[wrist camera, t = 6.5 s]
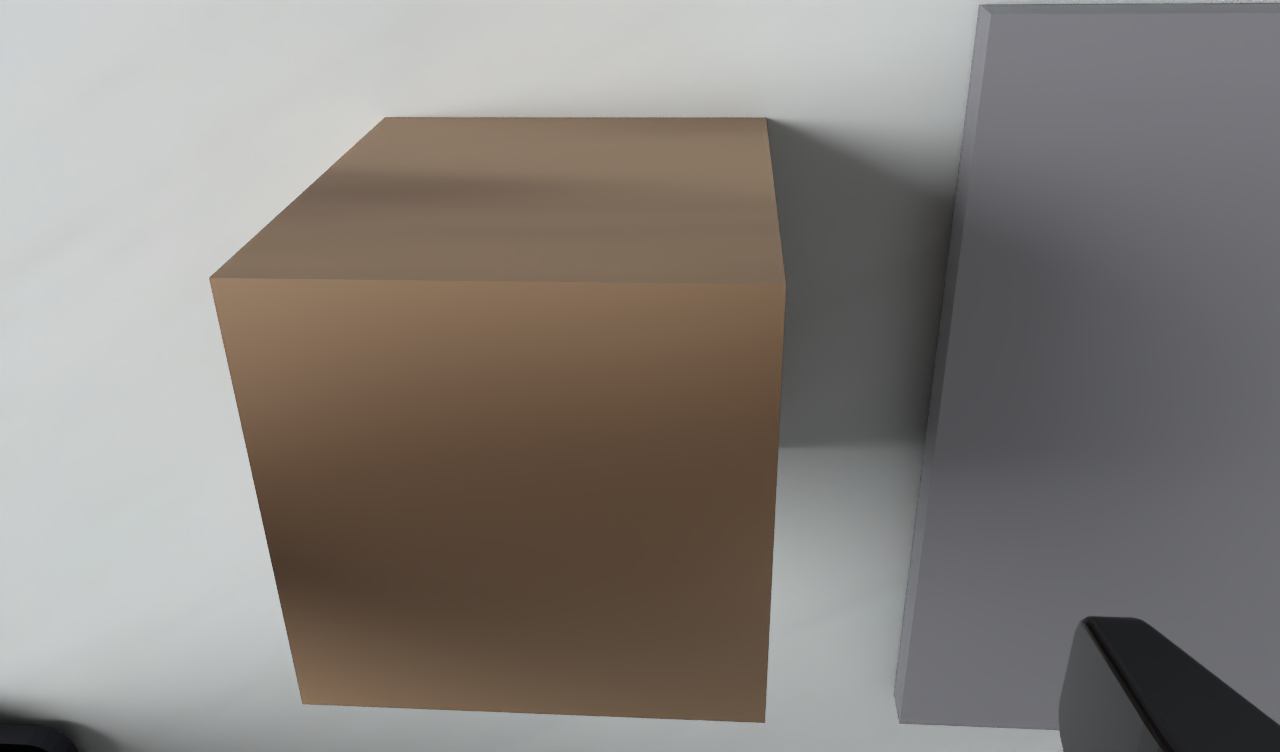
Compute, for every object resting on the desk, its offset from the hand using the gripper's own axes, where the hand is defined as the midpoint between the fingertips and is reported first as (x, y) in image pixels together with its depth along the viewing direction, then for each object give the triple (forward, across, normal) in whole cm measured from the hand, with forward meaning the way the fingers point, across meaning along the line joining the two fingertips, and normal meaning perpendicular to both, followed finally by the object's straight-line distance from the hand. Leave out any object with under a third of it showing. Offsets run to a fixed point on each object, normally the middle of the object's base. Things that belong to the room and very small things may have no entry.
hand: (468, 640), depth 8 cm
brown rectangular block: (+6, 0, 0) cm, 6 cm away
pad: (+6, -10, +1) cm, 12 cm away
